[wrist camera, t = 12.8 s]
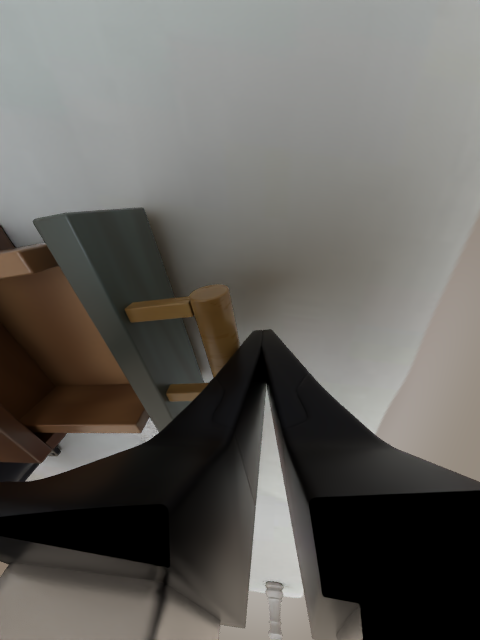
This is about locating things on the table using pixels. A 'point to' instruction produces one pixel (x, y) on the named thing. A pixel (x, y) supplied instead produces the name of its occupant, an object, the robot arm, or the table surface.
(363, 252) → the table surface
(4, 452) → the cabinet
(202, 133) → the table surface
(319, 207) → the table surface
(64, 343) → the drawer
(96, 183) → the table surface
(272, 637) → the rook chess piece
